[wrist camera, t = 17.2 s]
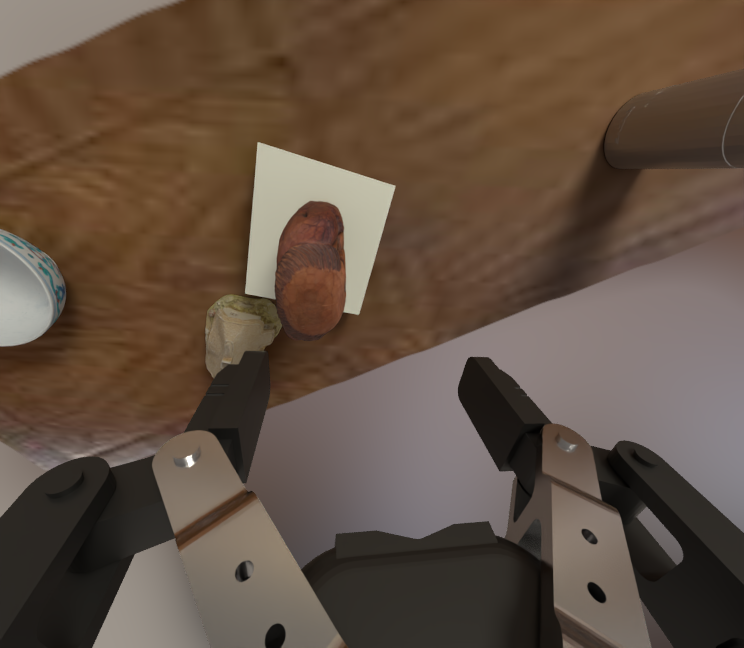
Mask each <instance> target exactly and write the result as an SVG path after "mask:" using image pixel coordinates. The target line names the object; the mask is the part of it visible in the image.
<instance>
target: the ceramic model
mask: <svg viewBox="0 0 744 648" xmlns="http://www.w3.org/2000/svg"><path fill="white" fill-rule="evenodd" d="M281 327H282V324H281V321H280V319H279V318H278V314H277V309H276V306H275V305H274V304H273V303H272V302H271V301H270V300H268V299H265V298H261V299H254V298H247V297H243V296H238V295H225V296H224V297H222V298H220V299H219V300H218V301H217V302H216V303H215V304H214V305H213V306H211V307H210V308H209V310H208V311H207V318H206V328H205V331H206V332H205V333H206V338H205V340H206V365H207V369H208V370H209V372H210V373H211V375H212V377H213V378H215V376H216V374H217V373H218V372H219V371H221V370H222V369H223V368H224V367H226V366H227V365H228V364H239V362H240V360H241V358H242V356H243V354H244V352H245V351H264V349H265V347H266V346H268V345H270V344H271V343H272V342H273V340H274V338H275V337H276V336H277V335H278V333H279V331H280V329H281Z"/></svg>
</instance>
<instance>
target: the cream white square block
mask: <svg viewBox="0 0 744 648" xmlns="http://www.w3.org/2000/svg"><path fill="white" fill-rule="evenodd" d="M394 190H395V186H394V185H390V184H387V183H384V182H381V181H378V180H375V179H372V178H369V177H365V176H362V175H359V174H356V173H353V172H350V171H347V170H344V169H340V168H337V167H334V166H331V165H328V164H325V163H322V162H319V161H315V160H312V159H309V158H306V157H303V156H300V155H297V154H294V153H290V152H287V151H284V150H281V149H278V148H275V147H272V146H269V145H265V144H262V143H259V142H258V147H257V159H256V171H255V182H254V194H253V206H252V218H251V230H250V242H249V253H248V265H247V277H246V289H245V294H250V295H255V296H260V297H266V298H271V299H276V298H275V291H274V290H275V287H274V286H275V272H276V270H277V253H278V246H279V239H280V236H281V234H282V231H283V229H284V227H285V226H286V224H287V223H288V221H289V220H290V218H291V217H292V216H293V215H294V214H295V213H296V212H297V210H298V209H299V208H301V207H302V206H303V205H304V204H306V203H307V202H309V201H323V202H328V203H331V204H333V205H335V206H336V207H337V208H338V209H339V211H340V214H341V216H342V220H343V225H344V251H345V263H346V298H345V299H346V302H345V307H344V311H343V312H347V313H352V314H357V315H359V313H360V309H361V306H362V302H363V299H364V295H365V292H366V288H367V284H368V281H369V277H370V274H371V270H372V267H373V263H374V260H375V256H376V253H377V249H378V246H379V242H380V239H381V235H382V232H383V228H384V225H385V221H386V218H387V214H388V211H389V207H390V204H391V200H392V197H393V193H394Z"/></svg>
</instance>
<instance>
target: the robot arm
mask: <svg viewBox="0 0 744 648" xmlns="http://www.w3.org/2000/svg"><path fill="white" fill-rule="evenodd" d="M604 152H605V157H606V159H607V161H608V163H609V164H610V165H611V166H613V167H614V168H618V169H704V168H744V69H741V70H737V71H733V72H728V73H724V74H720V75H716V76H712V77H708V78H704V79H700V80H695V81H691V82H687V83H683V84H679V85H674V86H670V87H666V88H662V89H658V90H654V91H650V92H646V93H642V94H639V95H637V96H635V97H634V98H632V99H630V100H629V101H628V102H627V103H626V104H624V105H623V107H622V108H621V109H620V110H619V111H618V112H617V114H616V115H615V117H614V118H613V120H612V122H611V124H610V126H609V128H608V131H607V134H606V137H605V143H604ZM269 395H270V374H269V359H268V352H267V351H245V352H244V354H243V356H242V358H241V360H240V362H239V364H228V365H227V366H226V367H224V368H223V369H222V370H221V371H219V372H218V373H217V374H216V376H215V378H214V380H213V382H212V383H211V386H210V387H209V389H208V390H207V392H206V396H204V398H203V399H202V401H201V403H200V405H199V407H198V408H197V410H196V412H195V414H194V415H193V417H192V419H191V421H190V423H189V424H188V426H187V428H186V430H185V432H184V433H183V434H180V435H178V436H176V437H174V438H172V439H171V440H169V441H168V442H166V443H165V444H164V445H163V446H162V447H161V448H160V449H159V450H158V451H157V453H156V455H154V456H151V457H148V458H145V459H142V460H138V461H134V462H131V463H127V464H123V465H120V466H116V467H112V468H110V467H109V465H108V463H107V462H106V461H105V460H104V459H102V458H99V457H82V458H78V459H74V460H71V461H68V462H65V463H63V464H60V465H58V466H56V467H54V468H52V469H51V470H49V471H47V472H46V473H44V474H43V475H41V476H40V477H39V478H37V479H36V480H35V481H34V482H33V483H31V484H30V485H29V486H28V487H27V488H26V489H25V490H24V492H23V493H22V494H21V495H20V496H19V497H18V499H16V501H15V502H14V503H13V504H12V505H11V507H9V508H8V510H7V511H6V512H5V513H4V514H3V515H2V516H1V517H0V648H92V647H93V644H94V642H95V640H96V638H97V636H98V634H99V631H100V629H101V627H102V625H103V623H104V620H105V618H106V616H107V614H108V612H109V609H110V607H111V605H112V603H113V601H114V598H115V596H116V594H117V592H118V590H119V587H120V585H121V583H122V581H123V579H124V577H125V574H126V572H127V570H128V568H129V565H130V563H131V561H132V559H133V557H134V555H135V554H136V553H138V552H141V551H143V550H146V549H148V548H151V547H154V546H156V545H158V544H161V543H164V542H166V541H169V540H171V539H174V538H176V544H177V547H178V550H179V554H180V557H181V560H182V562H183V566H184V569H185V571H186V575H187V577H188V581H189V584H190V587H191V590H192V593H193V596H194V599H195V602H196V605H197V608H198V611H199V614H200V618H201V620H202V624H203V627H204V630H205V633H206V636H207V639H208V642H209V645H210V648H651V644H650V640H649V635H648V631H647V627H646V623H645V618H644V614H643V610H642V606H641V601H640V598H641V600H642V602H643V603H644V604H645V606H646V607H647V609H648V610H649V612H650V613H651V615H652V616H653V618H654V619H655V621H656V622H657V624H658V625H659V626H660V628H661V629H662V631H663V632H664V634H665V635H666V637H667V638H668V640H669V641H670V643H671V644H672V646H673V647H674V648H744V533H743V532H742V531H741V530H740V529H739V528H737V527H736V526H735V525H734V524H733V523H732V522H731V521H730V520H729V519H728V518H727V517H725V516H724V515H723V514H722V513H721V512H720V511H719V510H718V509H717V508H716V507H714V506H713V505H712V504H711V503H710V502H709V501H708V500H707V499H706V498H705V497H704V496H703V495H701V494H700V493H699V492H698V491H697V490H696V489H695V488H694V487H693V486H692V485H691V484H689V483H688V482H687V481H686V480H685V479H684V478H683V477H682V476H681V475H680V474H678V473H677V472H676V471H675V470H674V469H673V468H672V467H671V466H670V465H669V464H668V463H666V462H665V461H664V460H663V459H662V458H661V457H659V456H658V455H657V454H655V453H654V452H653V451H651V450H649V449H648V448H646V447H644V446H642V445H639V444H637V443H634V442H630V441H619V442H618V443H617V444H616V445H615V447H614V448H613V449H612V450H611V451H610V450H605V449H602V448H597V447H594V446H590V445H589V443H587V441H586V440H585V439H584V438H583V437H582V436H581V435H579V434H578V433H576V432H575V431H573V430H571V429H570V428H568V427H565V426H563V425H559V424H552V423H551V421H550V420H549V419H548V418H547V417H546V416H545V415H544V414H543V412H542V411H541V410H540V409H539V408H538V407H537V405H536V404H535V403H534V402H533V401H532V400H531V399H530V398H529V397H528V396H527V394H526V393H525V392H524V391H523V390H522V389H520V386H519V385H518V384H517V383H516V382H515V380H514V379H513V378H512V377H511V376H509V375H508V374H506V373H505V372H503V371H502V370H500V369H499V368H498V367H497V366H496V365H495V364H494V362H492V360H491V359H489V358H488V357H470V358H468V360H467V362H466V365H465V368H464V371H463V374H462V377H461V380H460V383H459V386H458V396H459V400H460V402H461V403H462V405H463V407H464V409H465V410H466V412H467V414H468V416H469V418H470V419H471V421H472V423H473V425H474V427H475V428H476V430H477V432H478V434H479V436H480V437H481V439H482V441H483V442H484V444H485V446H486V448H487V449H488V451H489V453H490V455H491V457H492V459H493V460H494V462H495V464H496V466H497V467H498V469H499V471H514V473H515V474H516V477H515V478H514V480H513V485H512V494H511V502H510V511H509V519H508V528H507V532H506V536H505V538H502V537H499V536H495V534H494V532H493V530H492V528H491V525H490V523H489V521H487V522H475V523H464V524H453V525H451V526H449V527H447V528H444V529H442V530H440V531H438V532H436V533H433V534H431V535H429V536H426V537H424V538H422V539H413V538H408V537H403V536H399V535H394V534H389V533H385V532H380V531H367V532H354V533H342V534H336V539H335V547H334V548H332V549H330V550H328V551H326V552H324V553H322V554H321V555H319V556H317V557H316V558H314V559H313V560H312V561H311V562H309V563H308V564H307V565H305V566H304V567H303V568H302V569H300V568H299V566H298V565H297V563H296V561H295V559H294V557H293V556H292V554H291V552H290V551H289V549H288V547H287V546H286V544H285V542H284V541H283V539H282V537H281V536H280V534H279V532H278V530H277V529H276V527H275V525H274V524H273V522H272V520H271V519H270V517H269V515H268V514H267V512H266V510H265V509H264V507H263V505H262V503H261V502H260V500H259V499H258V497H257V496H256V494H255V493H254V492H252V491H250V492H248V491H247V490H246V488H245V487H244V485H243V483H246V482H247V478H248V475H249V471H250V467H251V463H252V460H253V456H254V452H255V449H256V445H257V441H258V437H259V434H260V430H261V426H262V422H263V419H264V415H265V411H266V408H267V404H268V400H269ZM645 507H648V508H649V509H650V510H651V511H652V512H653V514H654V515H655V516H656V517H657V518H658V519H659V520H660V522H661V523H662V524H663V525H664V526H665V527H666V528H667V529H668V530H669V532H670V533H671V534H672V535H673V536H674V537H675V538H676V540H677V541H678V542H679V544H680V546H681V548H682V550H683V556H684V557H683V560H682V562H681V563H680V564H678V565H676V564H675V563H674V562H673V561H672V559H671V558H670V557H669V556H668V555H667V553H666V552H665V551H664V550H663V548H662V547H661V546H660V545H659V544H658V542H657V541H656V540H655V539H654V538H653V536H652V535H651V534H650V533H649V532H648V530H647V529H646V528H645V527H644V526H643V525H642V523H641V522H640V521H639V520H638V519H637V517H636V516H637V515H638V514H639V513H641V511H643V510H644V508H645Z"/></svg>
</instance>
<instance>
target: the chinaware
mask: <svg viewBox="0 0 744 648" xmlns="http://www.w3.org/2000/svg"><path fill="white" fill-rule="evenodd" d="M65 300H66V287H65V283H64V279H63V277H62V275H61V273H60V271H59V268H58V267H57V265H56V264H55V262H54V261H53V260H52V259H51V258H50V257H49V256H48V255H47V254H45V253H44V252H42V251H41V250H39V249H38V248H37V247H35V246H34V245H32V244H31V243H29V242H27V241H26V240H24V239H22V238H20V237H18V236H16V235H14V234H12V233H9V232H7V231H4V230H1V229H0V346H15V345H20V344H24V343H28V342H30V341H33V340H35V339H37V338H38V337H40V336H41V335H42V334H44V333H45V332H46V331H47V330H48V329H49V328H50V327H51V326H52V325H53V324H54V323H55V321H56V320H57V319H58V317H59V316H60V314H61V312H62V310H63V308H64V305H65Z"/></svg>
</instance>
